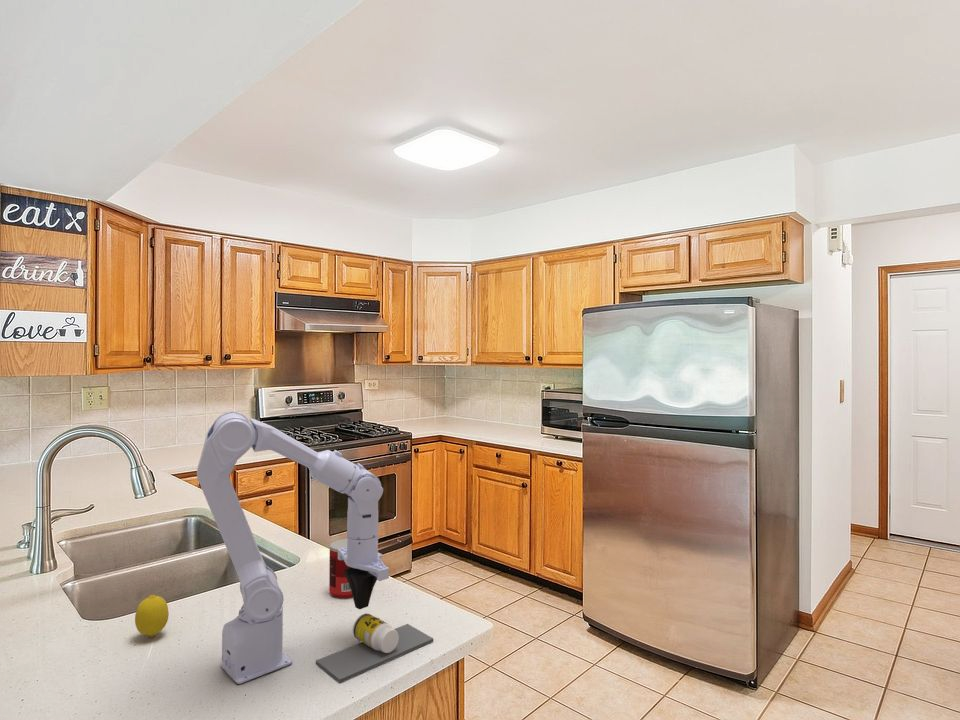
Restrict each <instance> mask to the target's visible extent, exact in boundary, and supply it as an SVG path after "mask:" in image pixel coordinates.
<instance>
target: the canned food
mask: <svg viewBox="0 0 960 720" xmlns="http://www.w3.org/2000/svg"><path fill="white" fill-rule="evenodd" d="M346 547H347V538H343V539H341V538H340V539H337V540H335V541H333V542H331V543H330V545H329V564H328V565H329V570H328V572H329V577H328V579H329V584H328V585H329V587H328V588H329V589H328V590H329V594H330V596H332V597H333V596H334V598H336V597H338V598H337V599H342V598H344V599H353V595H352V591H351V588H350V585H349V583H348V580H347V578H346V577H345V575H344V570H345V569H348V568H350V567H349V566H347V565H346V563H345V561H344V560H339V559H338V549H342V548H346Z"/></svg>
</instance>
